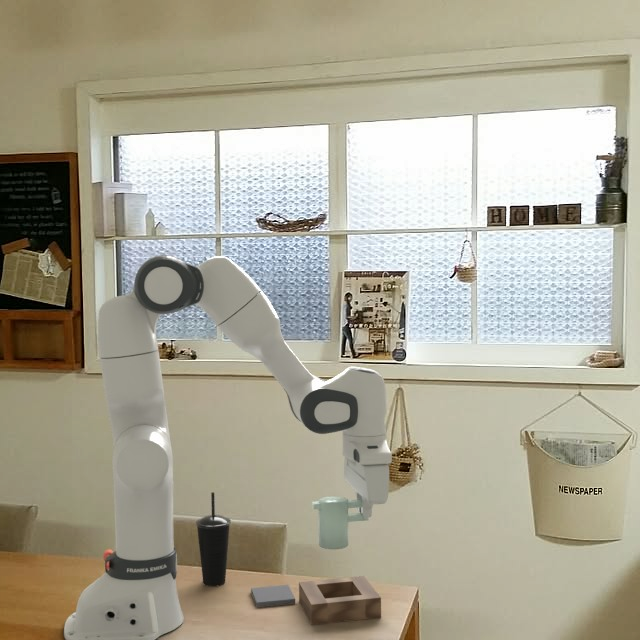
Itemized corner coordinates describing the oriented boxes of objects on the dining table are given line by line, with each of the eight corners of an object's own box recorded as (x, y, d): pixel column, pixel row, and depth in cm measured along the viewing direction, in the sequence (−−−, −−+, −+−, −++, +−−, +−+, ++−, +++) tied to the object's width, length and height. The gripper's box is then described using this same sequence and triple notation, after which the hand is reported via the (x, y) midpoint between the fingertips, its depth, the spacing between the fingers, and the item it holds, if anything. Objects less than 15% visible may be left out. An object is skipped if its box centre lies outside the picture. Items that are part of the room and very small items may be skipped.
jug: (316, 551, 163) (316, 506, 162) (310, 541, 168) (309, 498, 168) (371, 546, 165) (371, 501, 165) (363, 537, 171) (363, 494, 170)
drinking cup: (225, 590, 178) (224, 498, 176) (191, 587, 179) (190, 496, 178) (236, 577, 185) (234, 489, 184) (203, 575, 187) (202, 487, 186)
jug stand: (311, 624, 159) (311, 604, 159) (299, 601, 171) (298, 582, 171) (381, 617, 163) (381, 597, 162) (364, 594, 174) (364, 576, 174)
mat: (256, 607, 168) (256, 602, 168) (251, 592, 176) (251, 588, 176) (295, 603, 170) (295, 598, 170) (288, 589, 178) (288, 584, 178)
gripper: (336, 437, 176) (337, 501, 177) (362, 458, 156) (363, 530, 157) (365, 436, 178) (365, 500, 178) (394, 456, 158) (394, 528, 158)
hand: (364, 514), depth 168 cm, fingers closed on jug
